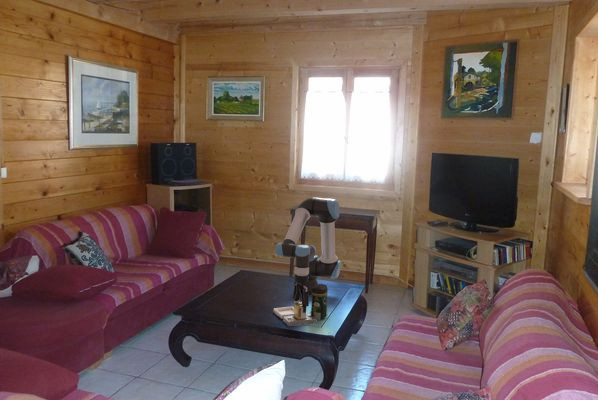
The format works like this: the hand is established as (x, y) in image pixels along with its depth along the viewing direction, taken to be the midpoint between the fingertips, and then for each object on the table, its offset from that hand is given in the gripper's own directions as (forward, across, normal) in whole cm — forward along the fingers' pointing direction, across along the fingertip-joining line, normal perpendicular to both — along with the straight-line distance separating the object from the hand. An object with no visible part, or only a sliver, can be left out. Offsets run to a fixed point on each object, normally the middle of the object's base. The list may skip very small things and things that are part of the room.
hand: (299, 315), depth 279 cm
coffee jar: (+4, -3, +13) cm, 14 cm away
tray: (+4, -13, -2) cm, 14 cm away
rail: (+4, 0, 0) cm, 4 cm away
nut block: (+4, 0, 0) cm, 4 cm away
